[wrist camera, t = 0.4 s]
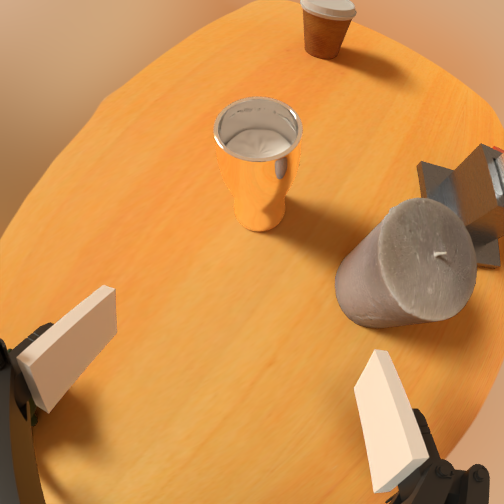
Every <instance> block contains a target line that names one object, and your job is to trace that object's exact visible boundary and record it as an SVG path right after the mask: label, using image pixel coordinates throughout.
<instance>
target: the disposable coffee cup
mask: <svg viewBox="0 0 504 504" xmlns="http://www.w3.org/2000/svg"><path fill="white" fill-rule="evenodd" d="M300 4H301V5H302V8H303V20H304V40H305V50H306V51H307V52H308V53H309V54H310V55H312V56H315V57H318V58H322V59H331V58H334V57H336V56H337V54H338V52H339V49H340V47H341V44H342V42H343V39H344V37H345V35H346V32H347V30H348V27H349V25H350V22H351V20H352V18H353V17H354V16H355V15H356V11H355V6H354V4H353V3H352V2H351V1H350V0H301V1H300Z"/></svg>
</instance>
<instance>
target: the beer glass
mask: <svg viewBox="0 0 504 504" xmlns="http://www.w3.org/2000/svg"><path fill="white" fill-rule="evenodd" d="M302 133H303V127H302V122H301V120H300V118H299V116H298V114H297V113H296V112H295V111H294V110H293V109H292V108H291V107H290V106H288V105H287V104H285V103H283V102H281V101H279V100H276V99H273V98H269V97H248V98H243V99H240V100H237V101H235V102H233V103H231V104H230V105H228V106H227V107H225V108H224V109H223V110H222V111H221V112H220V113H219V115H218V116H217V118H216V120H215V123H214V137H215V147H216V155H217V161H218V166H219V169H220V172H221V176H222V178H223V180H224V182H225V184H226V186H227V188H228V189H229V191H230V193H231V194H232V196H233V197H234V199H235V201H234V214H235V217H236V219H237V220H238V222H239V223H240V224H241V225H242V226H243V227H245V228H247V229H249V230H252V231H257V232H262V231H267V230H270V229H272V228H274V227H275V226H277V225H278V224H279V223H280V221H281V220H282V218H283V216H284V213H285V201H284V197H285V196H286V194H287V192H288V191H289V189H290V187H291V186H292V184H293V181H294V179H295V177H296V174H297V170H298V167H299V162H300V155H301V141H302Z"/></svg>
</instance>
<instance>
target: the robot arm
mask: <svg viewBox="0 0 504 504" xmlns="http://www.w3.org/2000/svg"><path fill="white" fill-rule="evenodd" d="M116 333H117V321H116V294H115V289H114V288H111V287H108V286H105V285H103V286H101V287H100V288H99V289H97V290H96V291H95V292H94V293H92V294H91V295H90V296H88V297H87V298H86V299H85V300H83V301H82V302H81V303H80V304H78V305H77V306H76V307H75V308H73V309H72V310H71V311H70V312H68V313H67V314H66V315H65V316H64V317H62V318H61V319H60V320H59V321H58V322H56V323H55V324H52V323H51V322H50V323H47V324H45V325H42V326H40V327H39V328H38V329H37V330H35V331H34V332H33V333H32V334H31V335H29V336H28V338H26V339H25V340H23V341H22V342H21V343H20V344H19V345H18V346H16V347H15V348H14V349H13V350H12V351H11V352H9V353H8V351H7V348H6V345H5V343H4V341H3V340H2V339H0V504H46V503H45V500H44V496H43V492H42V488H41V483H40V479H39V474H38V469H37V464H36V458H35V452H34V445H33V437H32V428H31V417H30V405H29V402H28V400H29V399H30V398H31V397H32V398H33V400H34V402H35V404H36V406H38V407H39V408H41V409H42V410H44V411H45V412H47V413H50V412H51V410H52V409H53V408H54V407H55V405H56V404H57V403H58V402H59V400H60V399H61V398H62V397H63V395H64V394H65V393H66V392H67V391H68V389H69V388H70V387H71V386H72V385H73V383H74V382H75V381H76V380H77V379H78V377H79V376H80V375H81V374H82V373H83V371H84V370H85V369H86V368H87V367H88V366H89V364H90V363H91V362H92V361H93V360H94V359H95V357H96V356H97V355H98V354H99V353H100V352H101V350H102V349H103V348H104V347H105V346H106V345H107V344H108V343H109V341H110V340H111V339H112V338H113V337H114V336H115V335H116ZM354 392H355V396H356V401H357V405H358V410H359V415H360V419H361V424H362V429H363V434H364V439H365V444H366V449H367V455H368V460H369V466H370V472H371V478H372V484H373V491H374V493H381V492H390V491H391V490H392V489H394V488H395V487H396V486H397V485H398V488H399V491H398V492H397V493H396V494H394V495H393V496H392V497H390V498H389V499H388V500H387V501H386V502H385V503H388V502H389V501H391V502H390V503H389V504H488V503H489V481H490V480H489V478H490V477H489V473H488V471H487V469H486V468H485V467H484V466H483V465H480V464H475V465H473V466H472V467H470V468H469V469H468V470H467V471H462V470H455V469H454V468H453V466H452V464H451V463H449V462H448V461H446V460H443V459H440V456H439V453H438V451H437V448H436V445H435V442H434V440H433V437H432V434H430V429H429V427H428V424H427V422H426V419H425V417H424V415H423V414H422V413H421V412H420V411H419V410H418V409H412V408H411V405H410V403H409V400H408V398H407V395H406V393H405V390H404V388H403V386H402V383H401V381H400V378H399V376H398V374H397V371H396V369H395V367H394V364H393V362H392V360H391V358H390V355H389V353H388V351H383V350H376V349H375V350H374V352H373V354H372V356H371V357H370V359H369V361H368V363H367V365H366V367H365V369H364V371H363V373H362V374H361V376H360V378H359V380H358V382H357V383H356V385H355V387H354Z"/></svg>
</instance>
